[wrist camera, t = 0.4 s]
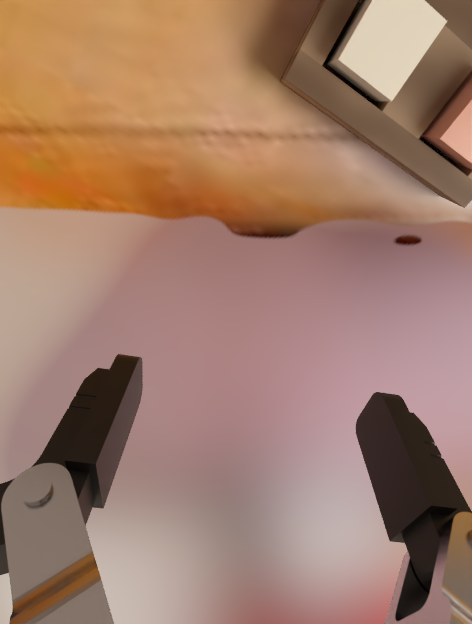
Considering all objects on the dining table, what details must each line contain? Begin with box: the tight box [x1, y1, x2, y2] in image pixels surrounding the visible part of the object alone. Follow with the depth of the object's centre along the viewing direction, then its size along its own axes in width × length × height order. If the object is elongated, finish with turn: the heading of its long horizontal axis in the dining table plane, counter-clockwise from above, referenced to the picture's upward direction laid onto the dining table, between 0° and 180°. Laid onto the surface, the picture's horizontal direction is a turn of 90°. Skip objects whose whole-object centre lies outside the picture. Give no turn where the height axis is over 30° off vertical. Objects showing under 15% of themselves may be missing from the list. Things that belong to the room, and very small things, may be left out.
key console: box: [280, 0, 472, 208], centre depth 26 cm, size 10×20×4 cm, turn 61°
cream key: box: [327, 0, 447, 101], centre depth 23 cm, size 5×5×4 cm
